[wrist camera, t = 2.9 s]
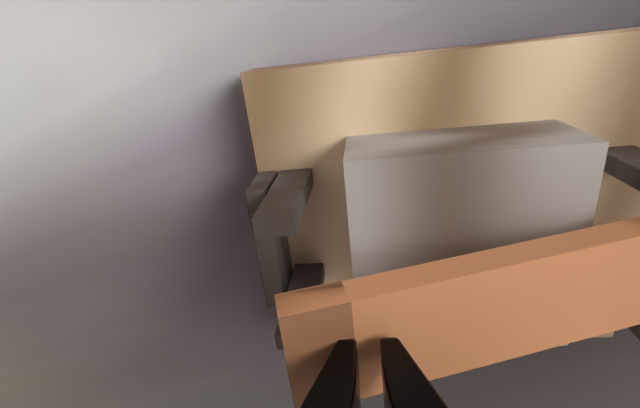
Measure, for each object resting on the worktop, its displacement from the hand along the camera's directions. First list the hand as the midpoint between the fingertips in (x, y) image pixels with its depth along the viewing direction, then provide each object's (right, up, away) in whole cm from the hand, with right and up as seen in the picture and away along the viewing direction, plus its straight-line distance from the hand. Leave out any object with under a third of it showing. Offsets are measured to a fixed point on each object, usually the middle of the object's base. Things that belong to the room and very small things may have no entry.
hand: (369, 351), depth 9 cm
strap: (+4, +1, +2) cm, 4 cm away
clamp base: (+4, +4, +7) cm, 9 cm away
